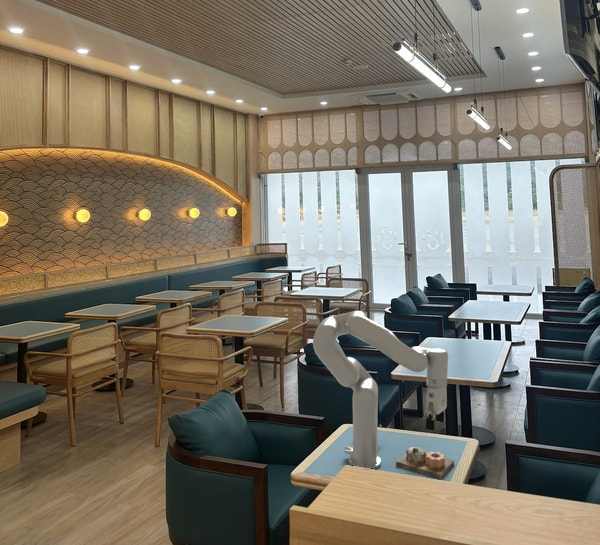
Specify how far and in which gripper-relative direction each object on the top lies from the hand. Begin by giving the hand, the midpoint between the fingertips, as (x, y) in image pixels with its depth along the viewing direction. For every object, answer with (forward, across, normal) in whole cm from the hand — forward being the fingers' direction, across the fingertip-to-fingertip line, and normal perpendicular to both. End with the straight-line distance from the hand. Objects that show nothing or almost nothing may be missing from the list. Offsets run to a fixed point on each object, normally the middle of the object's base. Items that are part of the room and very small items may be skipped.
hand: (434, 425), depth 200 cm
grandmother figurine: (+17, +10, +31) cm, 37 cm away
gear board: (+17, 0, +3) cm, 17 cm away
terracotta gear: (+15, 0, -1) cm, 15 cm away
